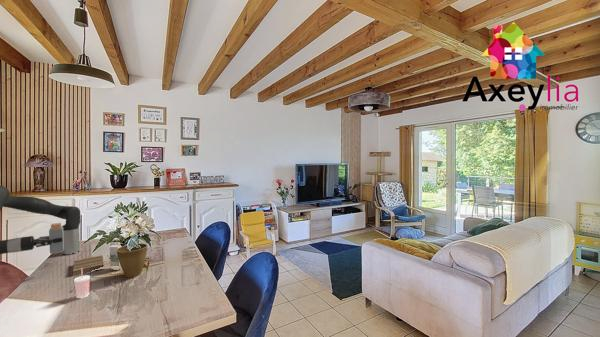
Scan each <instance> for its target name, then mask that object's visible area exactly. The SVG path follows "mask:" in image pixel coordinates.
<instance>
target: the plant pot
mask: <svg viewBox="0 0 600 337" xmlns="http://www.w3.org/2000/svg"><path fill="white" fill-rule="evenodd" d="M137 244H138V245H140V246H141V248H142V249H139V248H136V247H134V248H132V249H131V251H129V250H128V249H127V245H126V244H125V246H123V247H120V248H118V249H117V255H118V259H119V263H120V265H121V268H122V269H121V270H122V272H123V274H124V276H125V277H126V278H129V279H130V278H136V277H139V276H140V275H141V274H142V271H143V269H144V265H145V262H146V257H147V251H148V244H147V243H137Z"/></svg>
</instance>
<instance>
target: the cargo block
mask: <svg viewBox="0 0 600 337" xmlns="http://www.w3.org/2000/svg"><path fill="white" fill-rule="evenodd" d="M61 227H62V222H54V223H51V224H50V228H51V230H56V229H61Z"/></svg>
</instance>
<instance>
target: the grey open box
mask: <svg viewBox="0 0 600 337" xmlns="http://www.w3.org/2000/svg"><path fill="white" fill-rule="evenodd" d="M48 236H49V239H56V238H62V242H57V243H53V244H51V245H49V254H56V253H63V251H64V234H63V227H62V226H61V229H56V230H51V227H50V228H49V230H48Z"/></svg>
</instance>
